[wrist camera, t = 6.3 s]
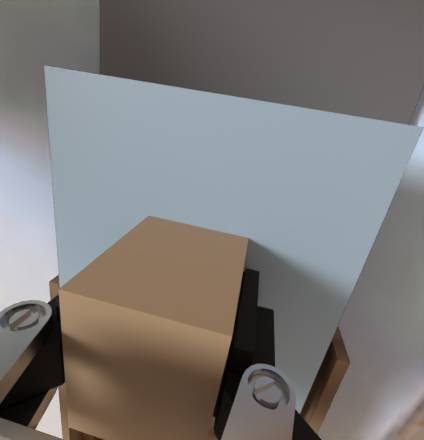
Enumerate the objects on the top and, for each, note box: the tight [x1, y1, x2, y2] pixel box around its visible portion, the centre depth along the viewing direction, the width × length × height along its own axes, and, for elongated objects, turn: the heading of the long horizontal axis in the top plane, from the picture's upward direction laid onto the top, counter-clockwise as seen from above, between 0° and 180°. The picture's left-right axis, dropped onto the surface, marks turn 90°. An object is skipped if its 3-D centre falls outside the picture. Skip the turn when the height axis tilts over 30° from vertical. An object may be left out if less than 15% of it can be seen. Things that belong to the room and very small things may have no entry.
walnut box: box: [49, 275, 350, 440], centre depth 18 cm, size 16×14×7 cm
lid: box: [44, 65, 423, 440], centre depth 10 cm, size 14×12×6 cm
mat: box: [100, 0, 424, 125], centre depth 15 cm, size 16×17×1 cm
